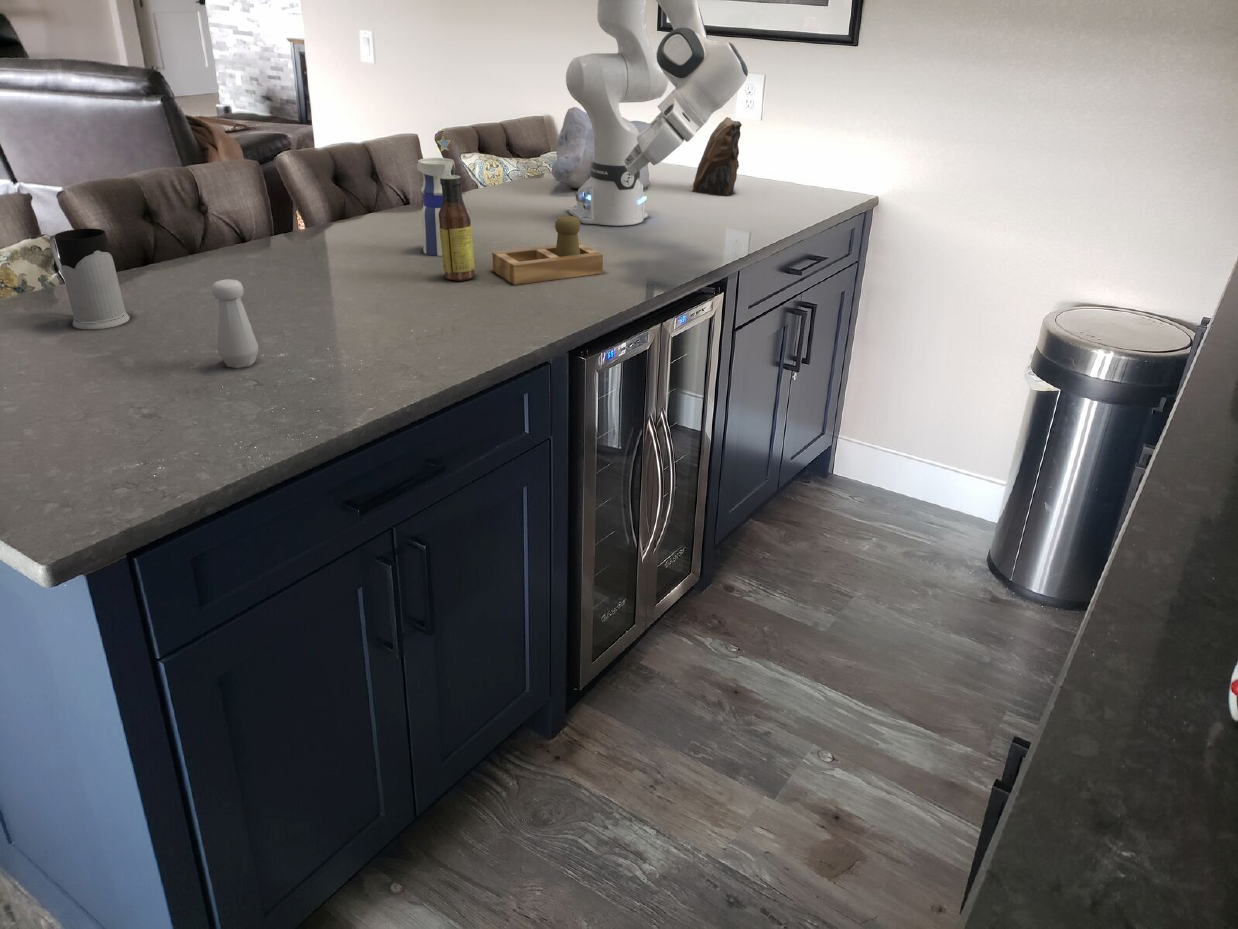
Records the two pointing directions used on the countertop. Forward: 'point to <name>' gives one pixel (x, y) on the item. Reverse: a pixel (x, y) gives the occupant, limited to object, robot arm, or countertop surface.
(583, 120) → the rock
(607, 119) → the robot arm
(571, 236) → the olive green game pawn
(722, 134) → the rock
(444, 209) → the sauce bottle
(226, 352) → the salt shaker
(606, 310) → the countertop surface
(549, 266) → the socket block
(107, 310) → the glass holder
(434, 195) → the blue tall piece
